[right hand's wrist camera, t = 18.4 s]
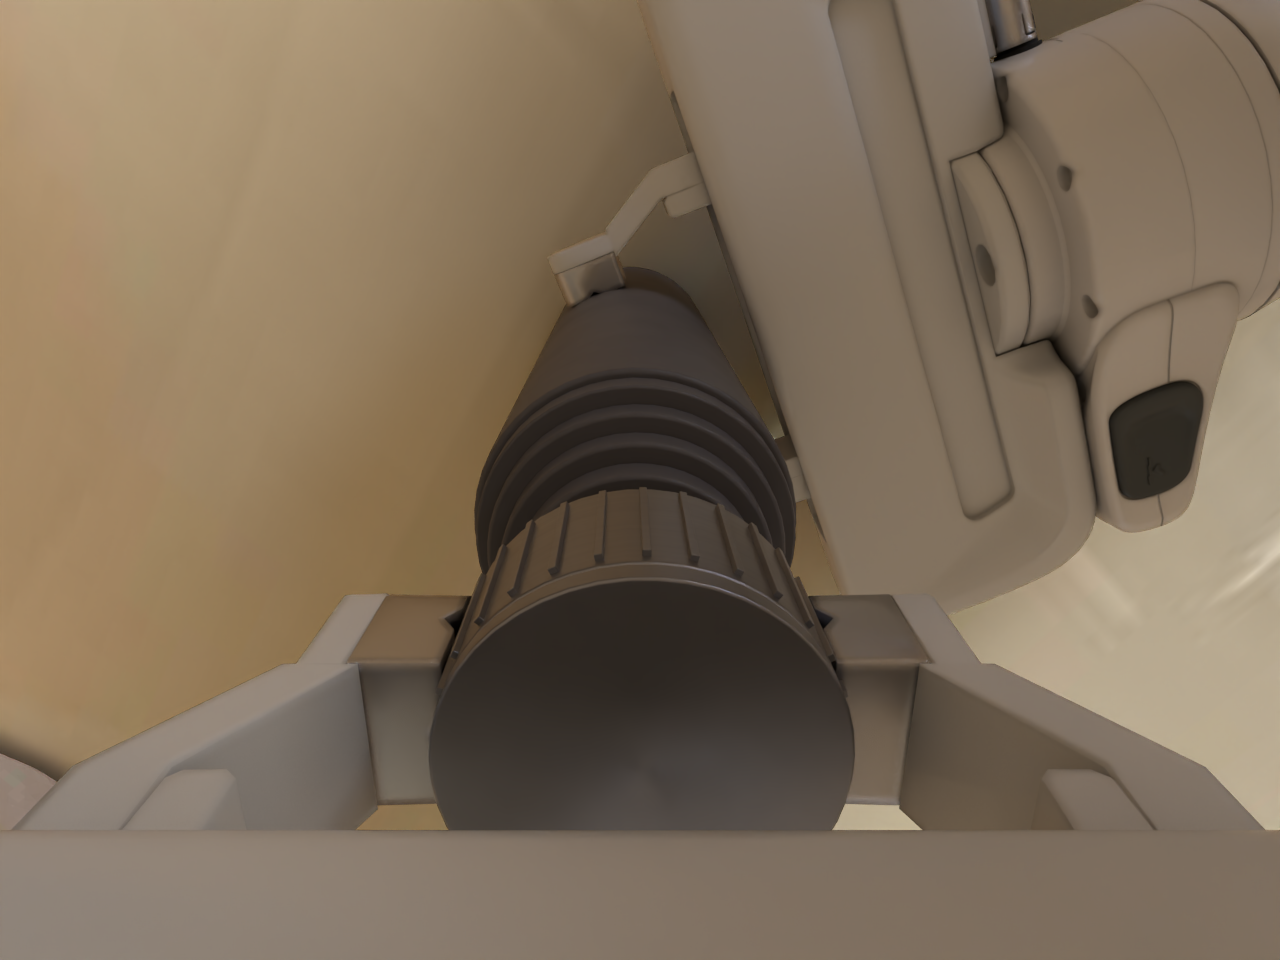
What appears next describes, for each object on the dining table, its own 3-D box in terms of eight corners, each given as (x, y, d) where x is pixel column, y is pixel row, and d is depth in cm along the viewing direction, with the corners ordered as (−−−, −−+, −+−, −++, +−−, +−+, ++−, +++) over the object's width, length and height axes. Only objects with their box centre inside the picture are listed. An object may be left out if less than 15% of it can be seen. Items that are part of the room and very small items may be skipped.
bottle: (734, 340, 29) (1008, 726, 8) (632, 442, 30) (646, 1002, 10) (628, 234, 28) (634, 372, 7) (525, 344, 29) (272, 745, 8)
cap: (423, 520, 9) (362, 619, 7) (786, 449, 9) (835, 531, 7) (512, 808, 11) (485, 964, 9) (830, 753, 11) (882, 897, 8)
